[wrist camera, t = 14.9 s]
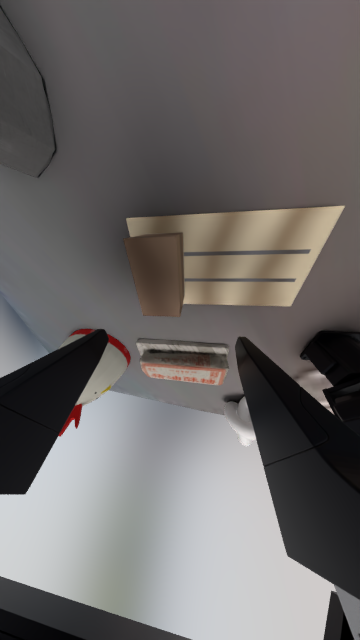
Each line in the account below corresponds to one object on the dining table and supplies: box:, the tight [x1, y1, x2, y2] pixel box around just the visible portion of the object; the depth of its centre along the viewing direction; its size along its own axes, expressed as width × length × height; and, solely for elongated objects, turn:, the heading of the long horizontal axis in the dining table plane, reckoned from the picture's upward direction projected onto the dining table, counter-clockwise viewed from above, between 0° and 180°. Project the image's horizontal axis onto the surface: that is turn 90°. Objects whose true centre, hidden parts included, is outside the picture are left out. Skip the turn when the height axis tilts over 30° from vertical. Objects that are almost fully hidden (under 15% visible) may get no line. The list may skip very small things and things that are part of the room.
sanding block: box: [123, 232, 185, 317], centre depth 14 cm, size 4×7×6 cm, turn 3°
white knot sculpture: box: [224, 396, 256, 446], centre depth 33 cm, size 11×12×9 cm
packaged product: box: [136, 339, 229, 385], centre depth 27 cm, size 18×5×10 cm
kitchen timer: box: [58, 329, 131, 436], centre depth 24 cm, size 14×14×15 cm
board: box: [126, 206, 345, 306], centre depth 16 cm, size 20×10×1 cm, turn 93°
